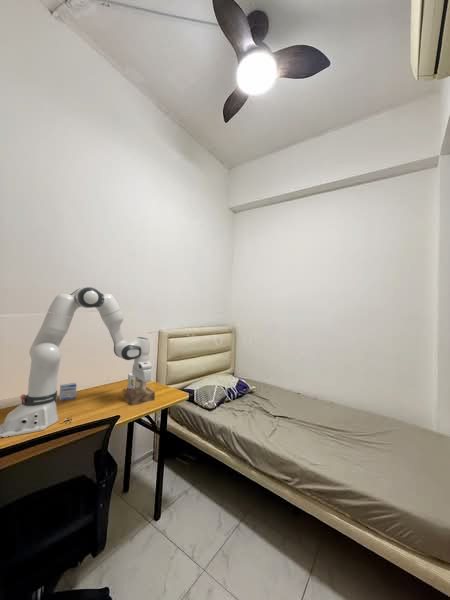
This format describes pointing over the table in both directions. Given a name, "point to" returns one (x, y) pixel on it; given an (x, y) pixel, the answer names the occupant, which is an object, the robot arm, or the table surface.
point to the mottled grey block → (139, 387)
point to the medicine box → (67, 391)
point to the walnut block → (139, 396)
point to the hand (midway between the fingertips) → (140, 385)
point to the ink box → (131, 382)
